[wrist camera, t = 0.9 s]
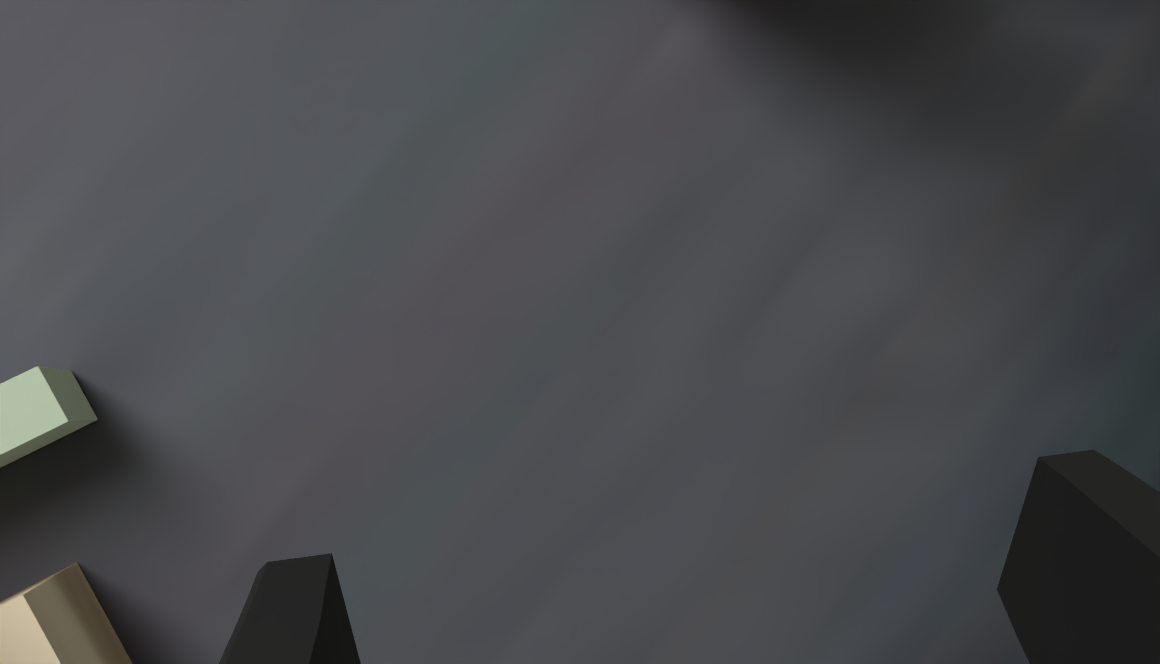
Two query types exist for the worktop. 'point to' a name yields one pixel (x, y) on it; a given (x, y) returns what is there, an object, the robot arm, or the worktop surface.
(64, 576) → the maple block
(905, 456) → the worktop surface
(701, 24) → the worktop surface
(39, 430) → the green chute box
